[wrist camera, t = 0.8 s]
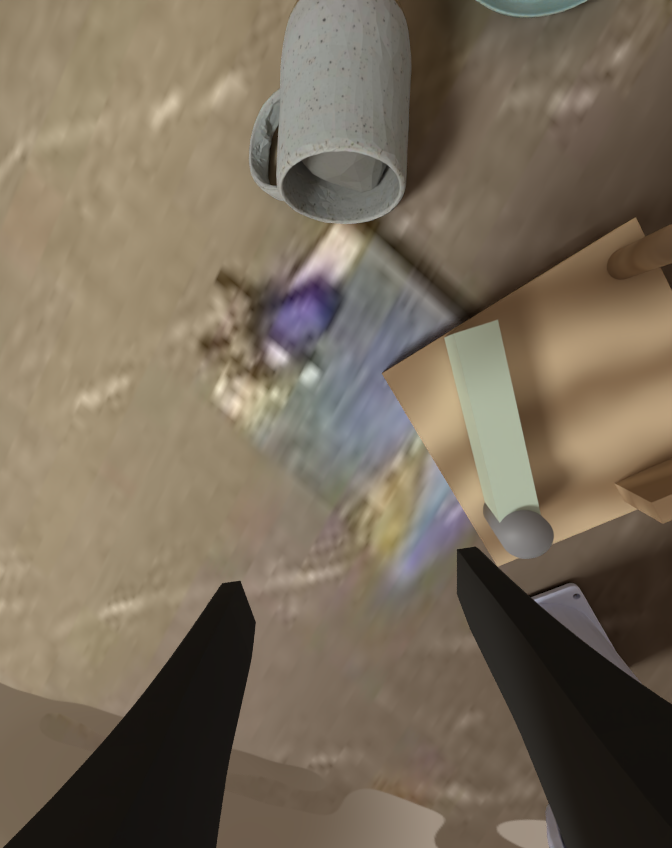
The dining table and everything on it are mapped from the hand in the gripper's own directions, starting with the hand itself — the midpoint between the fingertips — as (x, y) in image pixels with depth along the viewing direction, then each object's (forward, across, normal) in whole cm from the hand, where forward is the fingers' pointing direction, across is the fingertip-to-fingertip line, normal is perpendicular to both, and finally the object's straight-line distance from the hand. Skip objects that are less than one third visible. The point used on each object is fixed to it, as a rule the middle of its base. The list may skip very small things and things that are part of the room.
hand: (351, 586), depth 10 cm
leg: (+12, -10, +1) cm, 16 cm away
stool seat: (+13, -15, +1) cm, 20 cm away
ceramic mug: (+20, -2, -17) cm, 26 cm away
